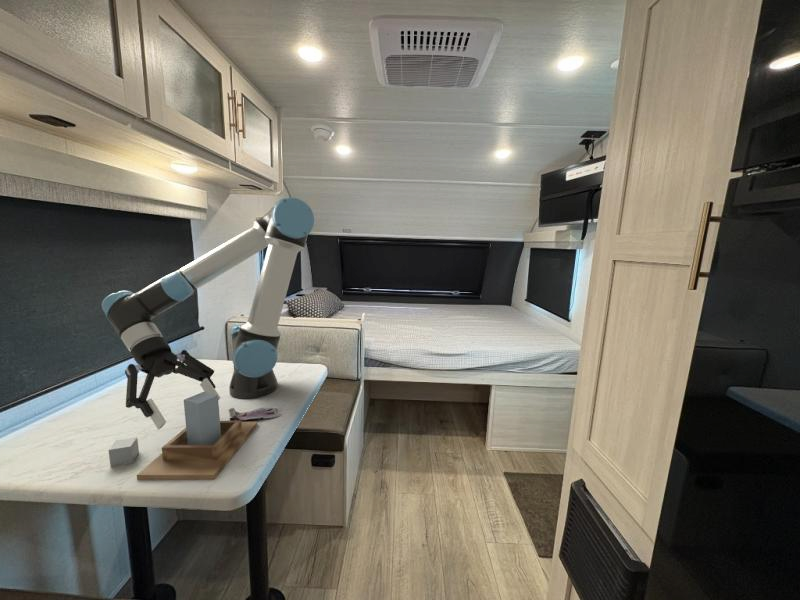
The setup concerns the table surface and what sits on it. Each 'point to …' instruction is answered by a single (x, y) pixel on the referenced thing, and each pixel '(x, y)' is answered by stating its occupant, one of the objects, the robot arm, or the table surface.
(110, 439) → the table surface
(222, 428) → the tray
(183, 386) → the table surface
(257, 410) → the pink elongated piece
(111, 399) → the table surface
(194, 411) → the block
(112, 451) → the grey block
